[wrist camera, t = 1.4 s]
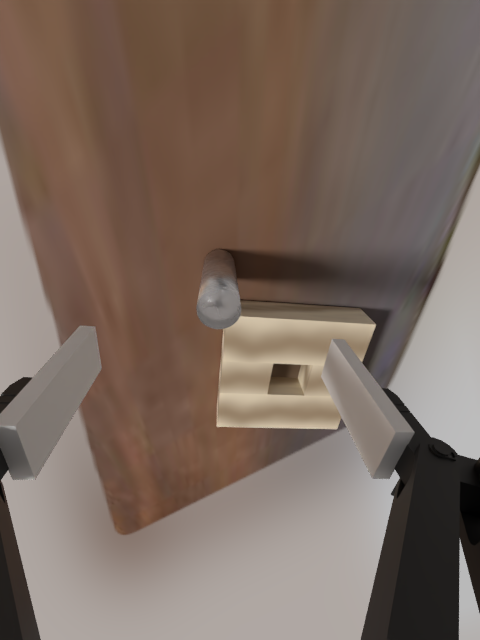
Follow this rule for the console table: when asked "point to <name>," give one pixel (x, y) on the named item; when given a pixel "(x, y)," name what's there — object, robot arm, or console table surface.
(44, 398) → the robot arm
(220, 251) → the pin
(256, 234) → the console table surface
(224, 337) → the bore block
